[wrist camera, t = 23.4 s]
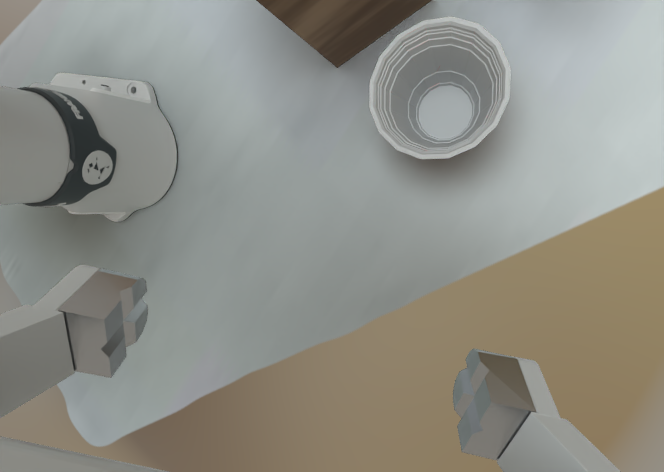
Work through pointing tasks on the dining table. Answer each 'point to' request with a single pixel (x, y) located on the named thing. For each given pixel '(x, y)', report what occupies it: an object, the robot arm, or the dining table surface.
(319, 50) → the walnut post
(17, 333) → the robot arm
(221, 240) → the dining table surface
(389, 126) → the plastic cup
